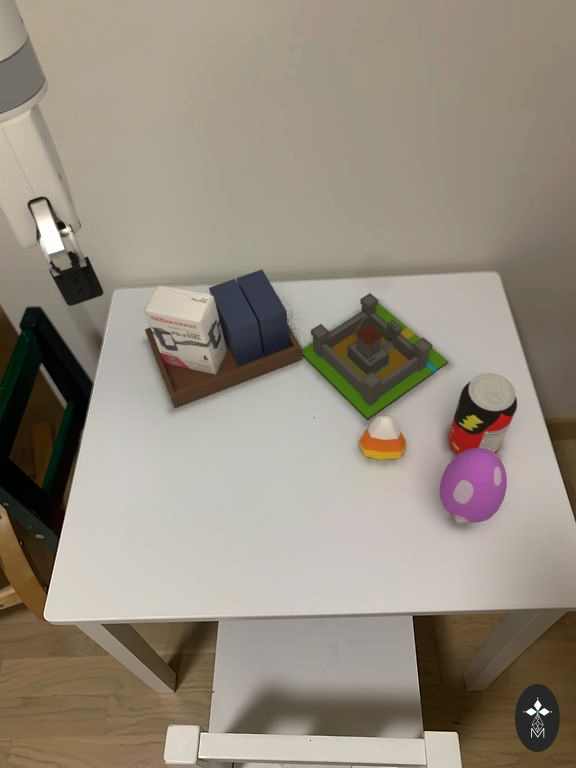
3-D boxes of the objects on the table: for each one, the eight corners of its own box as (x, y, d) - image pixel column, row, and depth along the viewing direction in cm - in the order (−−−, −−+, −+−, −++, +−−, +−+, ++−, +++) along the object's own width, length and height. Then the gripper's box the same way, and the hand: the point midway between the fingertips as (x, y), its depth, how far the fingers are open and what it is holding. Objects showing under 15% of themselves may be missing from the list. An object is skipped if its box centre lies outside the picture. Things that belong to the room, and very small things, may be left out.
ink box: (162, 364, 87) (140, 309, 77) (176, 339, 89) (156, 283, 80) (216, 376, 85) (200, 321, 75) (228, 349, 88) (215, 294, 78)
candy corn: (358, 459, 76) (359, 427, 70) (359, 439, 78) (361, 406, 72) (405, 463, 76) (411, 430, 69) (405, 442, 77) (411, 409, 71)
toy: (492, 546, 69) (525, 490, 57) (433, 545, 69) (454, 489, 57) (483, 493, 73) (513, 430, 60) (428, 492, 73) (446, 430, 61)
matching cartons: (238, 367, 86) (229, 331, 79) (217, 324, 91) (208, 287, 84) (290, 347, 87) (286, 310, 80) (267, 306, 92) (262, 268, 85)
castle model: (299, 353, 87) (296, 319, 81) (376, 304, 92) (379, 268, 86) (367, 420, 80) (369, 389, 74) (447, 363, 84) (456, 329, 78)
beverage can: (487, 419, 79) (508, 364, 69) (505, 461, 75) (530, 409, 65) (441, 427, 78) (455, 373, 69) (456, 469, 75) (474, 419, 65)
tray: (174, 408, 83) (170, 397, 81) (149, 341, 91) (144, 329, 88) (302, 359, 87) (301, 347, 84) (267, 298, 94) (266, 286, 92)
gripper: (-80, 37, 44) (20, 221, 58) (-65, 158, 35) (50, 344, 49) (21, 12, 46) (95, 198, 59) (61, 122, 36) (138, 313, 50)
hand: (75, 263), depth 54 cm, fingers open, 9 cm apart
